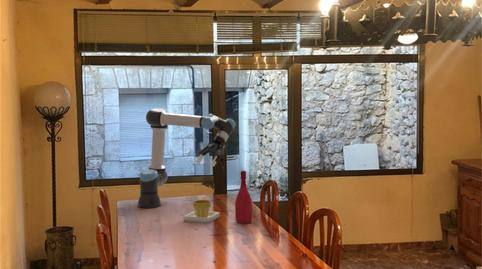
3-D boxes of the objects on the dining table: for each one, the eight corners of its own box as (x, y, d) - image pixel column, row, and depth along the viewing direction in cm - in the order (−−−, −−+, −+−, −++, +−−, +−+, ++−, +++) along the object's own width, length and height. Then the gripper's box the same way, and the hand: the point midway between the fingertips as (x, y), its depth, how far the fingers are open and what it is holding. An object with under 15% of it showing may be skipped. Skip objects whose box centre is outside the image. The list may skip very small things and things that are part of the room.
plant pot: (212, 215, 312) (211, 199, 311) (209, 219, 302) (209, 203, 301) (195, 215, 313) (194, 199, 312) (192, 219, 303) (191, 203, 302)
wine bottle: (252, 224, 295) (251, 172, 293) (235, 224, 295) (234, 172, 293) (252, 219, 305) (251, 169, 302) (235, 219, 305) (235, 169, 303)
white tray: (183, 221, 303) (183, 216, 303) (195, 215, 318) (195, 210, 318) (208, 223, 297) (208, 218, 297) (219, 217, 312) (219, 212, 312)
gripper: (237, 144, 332) (221, 169, 322) (209, 141, 349) (194, 166, 339) (232, 136, 328) (215, 162, 318) (204, 134, 344) (188, 159, 334)
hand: (204, 164), depth 328 cm, fingers open, 13 cm apart
